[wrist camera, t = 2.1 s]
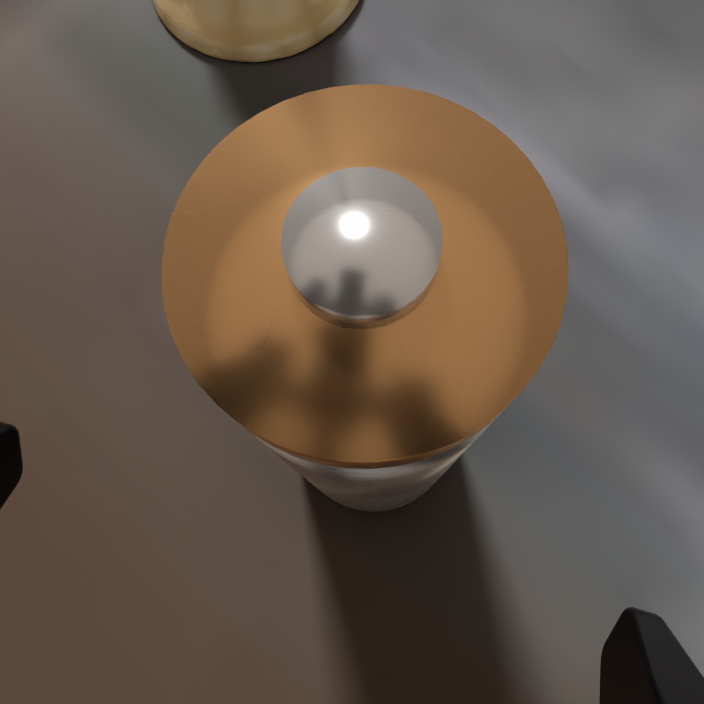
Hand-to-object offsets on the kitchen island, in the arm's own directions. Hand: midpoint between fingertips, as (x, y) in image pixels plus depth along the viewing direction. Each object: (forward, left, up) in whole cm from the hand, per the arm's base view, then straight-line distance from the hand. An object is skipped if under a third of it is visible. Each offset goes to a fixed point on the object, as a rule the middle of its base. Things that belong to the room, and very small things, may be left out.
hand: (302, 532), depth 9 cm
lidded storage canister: (+3, +1, -10) cm, 11 cm away
